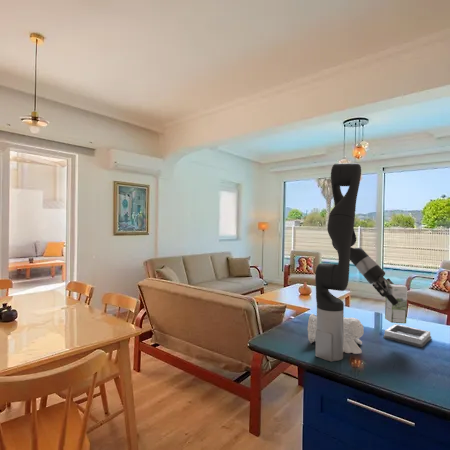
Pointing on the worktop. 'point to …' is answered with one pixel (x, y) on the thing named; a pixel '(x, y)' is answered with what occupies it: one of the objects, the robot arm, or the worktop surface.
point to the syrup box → (400, 309)
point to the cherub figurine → (350, 333)
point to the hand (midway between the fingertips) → (399, 302)
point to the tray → (408, 335)
